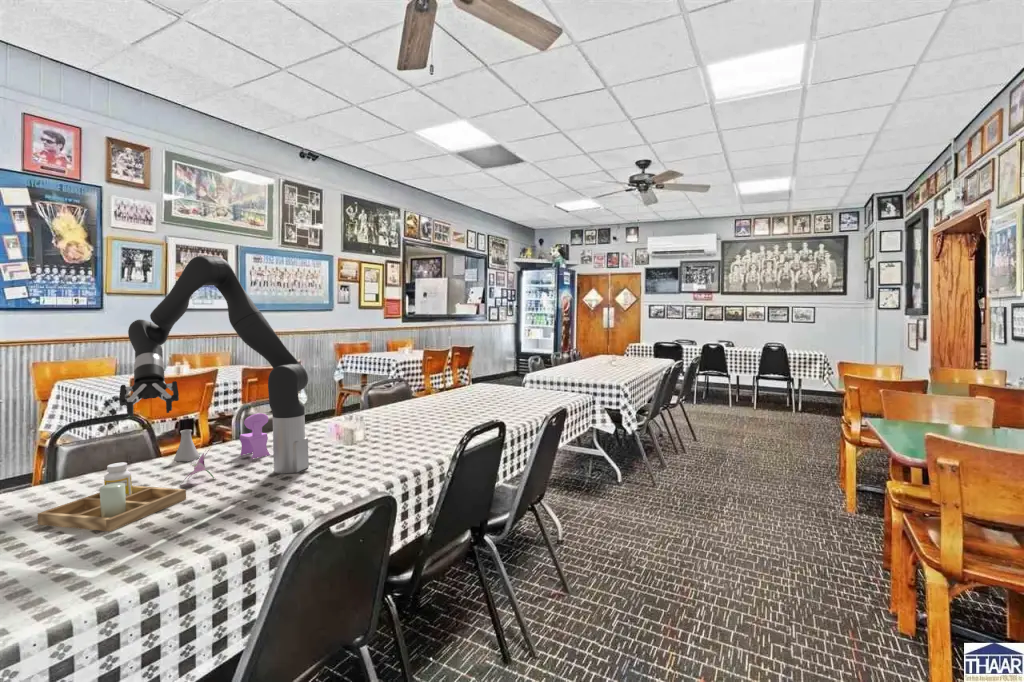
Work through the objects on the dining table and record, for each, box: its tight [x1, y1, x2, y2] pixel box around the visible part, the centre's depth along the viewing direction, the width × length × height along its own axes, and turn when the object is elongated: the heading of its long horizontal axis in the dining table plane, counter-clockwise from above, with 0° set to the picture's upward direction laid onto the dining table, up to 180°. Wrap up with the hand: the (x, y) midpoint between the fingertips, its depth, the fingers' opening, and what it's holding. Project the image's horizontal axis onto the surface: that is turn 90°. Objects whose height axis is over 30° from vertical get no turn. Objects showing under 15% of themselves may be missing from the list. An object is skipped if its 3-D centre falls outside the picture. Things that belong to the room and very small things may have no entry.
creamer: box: [99, 483, 126, 518], centre depth 115 cm, size 5×5×8 cm
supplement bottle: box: [103, 461, 133, 496], centre depth 126 cm, size 5×5×10 cm
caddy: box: [37, 485, 187, 532], centre depth 121 cm, size 20×20×3 cm
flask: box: [173, 429, 201, 462], centre depth 168 cm, size 7×7×10 cm
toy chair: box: [239, 412, 271, 460], centre depth 173 cm, size 8×9×15 cm
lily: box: [179, 448, 215, 487], centre depth 146 cm, size 12×12×10 cm
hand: (150, 413), depth 144 cm, fingers open, 8 cm apart
